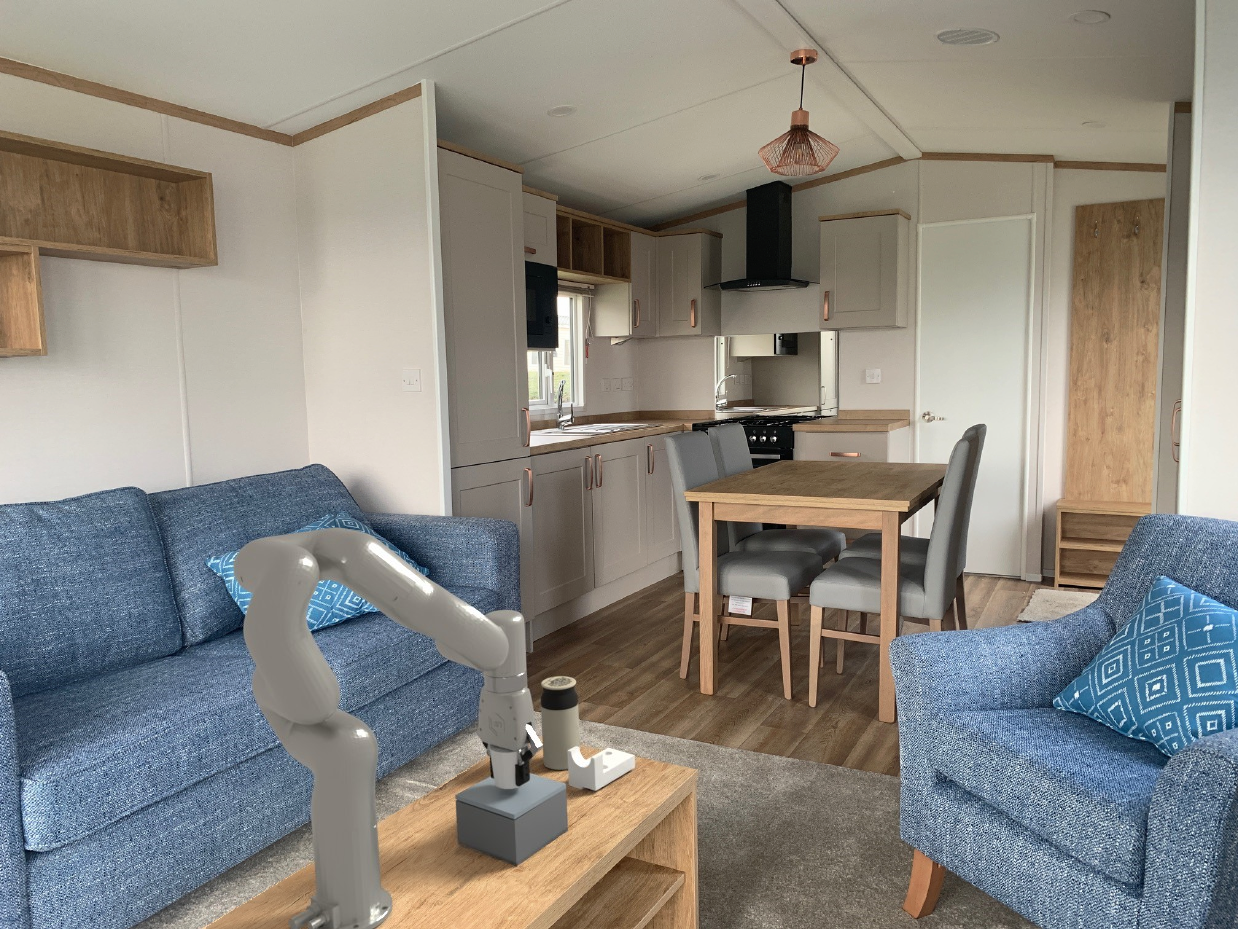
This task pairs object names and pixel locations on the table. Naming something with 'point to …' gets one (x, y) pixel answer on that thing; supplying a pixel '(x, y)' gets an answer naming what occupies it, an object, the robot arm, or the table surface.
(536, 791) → the lid
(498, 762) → the white cup
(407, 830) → the table surface
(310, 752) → the robot arm
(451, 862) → the table surface
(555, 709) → the travel mug
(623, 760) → the bracket
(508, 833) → the storage box
